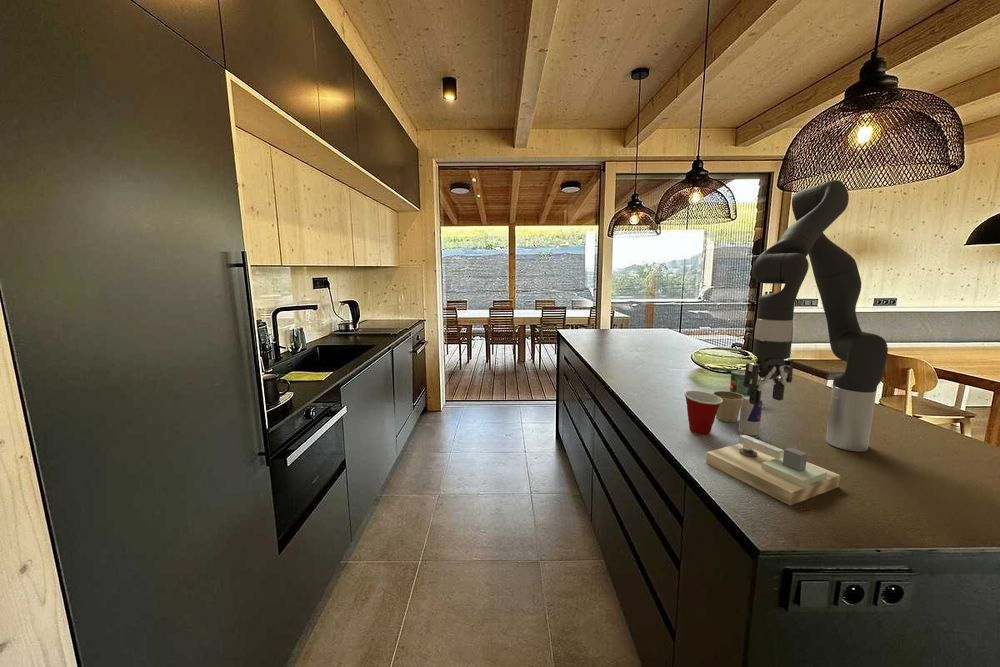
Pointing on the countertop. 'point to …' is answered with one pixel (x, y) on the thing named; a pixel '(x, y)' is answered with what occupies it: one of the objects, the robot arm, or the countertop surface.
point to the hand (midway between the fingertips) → (766, 402)
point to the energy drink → (750, 418)
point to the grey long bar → (760, 447)
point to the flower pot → (728, 406)
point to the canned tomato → (739, 383)
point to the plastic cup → (701, 411)
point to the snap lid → (794, 468)
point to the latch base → (767, 474)
